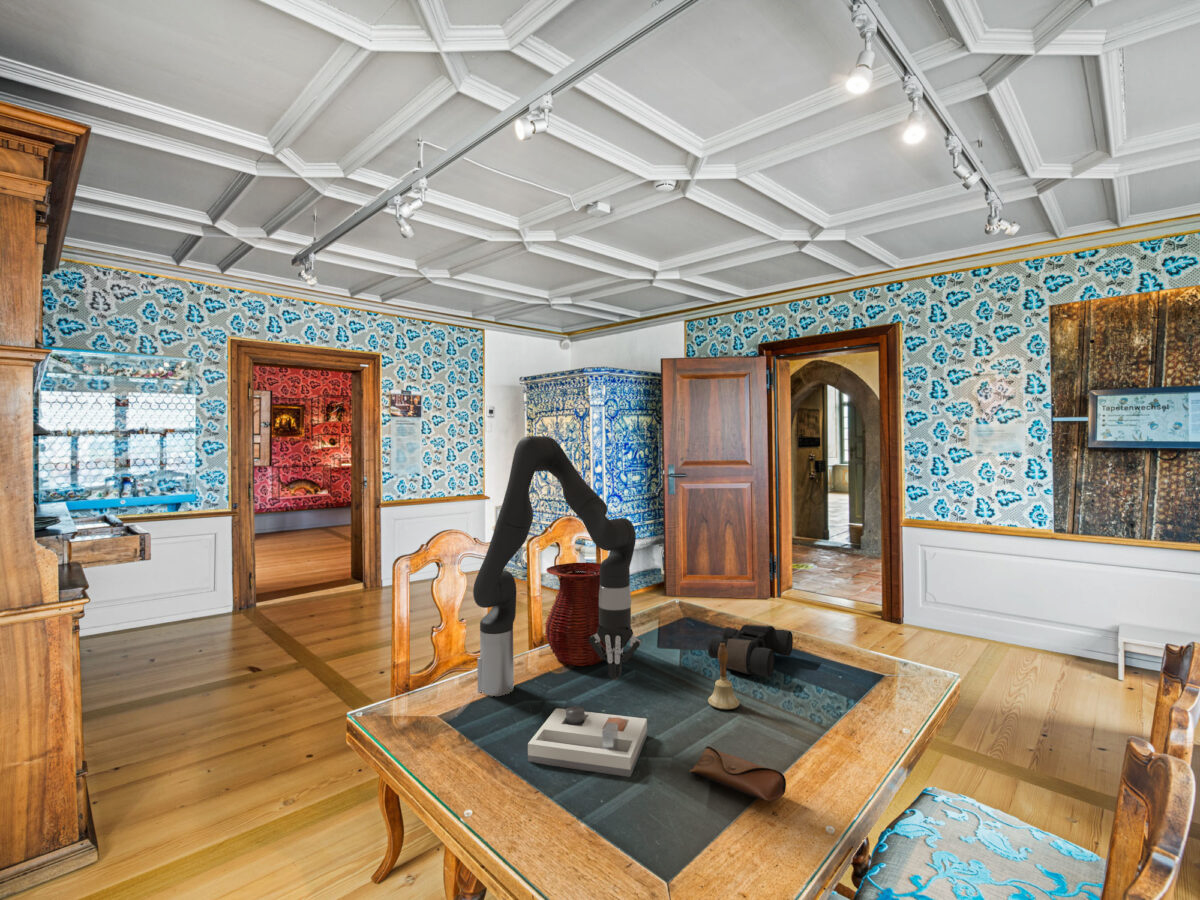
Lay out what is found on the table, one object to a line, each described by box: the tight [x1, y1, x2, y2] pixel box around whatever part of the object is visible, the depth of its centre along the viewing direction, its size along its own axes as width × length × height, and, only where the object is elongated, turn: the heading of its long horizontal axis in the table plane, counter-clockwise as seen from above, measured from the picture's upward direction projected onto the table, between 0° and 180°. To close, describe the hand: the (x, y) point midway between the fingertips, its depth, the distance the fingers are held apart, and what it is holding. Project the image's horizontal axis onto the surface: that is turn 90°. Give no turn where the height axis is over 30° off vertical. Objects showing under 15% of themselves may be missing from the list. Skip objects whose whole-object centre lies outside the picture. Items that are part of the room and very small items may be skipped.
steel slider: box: [602, 722, 618, 751], centre depth 124 cm, size 2×4×6 cm, turn 164°
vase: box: [544, 562, 606, 667], centre depth 186 cm, size 23×24×30 cm
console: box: [527, 708, 648, 778], centre depth 130 cm, size 23×18×4 cm
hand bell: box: [707, 643, 740, 710], centre depth 153 cm, size 8×8×16 cm
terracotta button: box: [606, 717, 625, 731], centre depth 133 cm, size 4×4×3 cm
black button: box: [565, 705, 585, 725], centre depth 136 cm, size 4×4×3 cm
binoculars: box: [707, 623, 794, 678], centre depth 182 cm, size 29×20×10 cm
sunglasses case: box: [688, 746, 787, 803], centre depth 115 cm, size 18×7×7 cm
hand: (614, 678), depth 133 cm, fingers closed
